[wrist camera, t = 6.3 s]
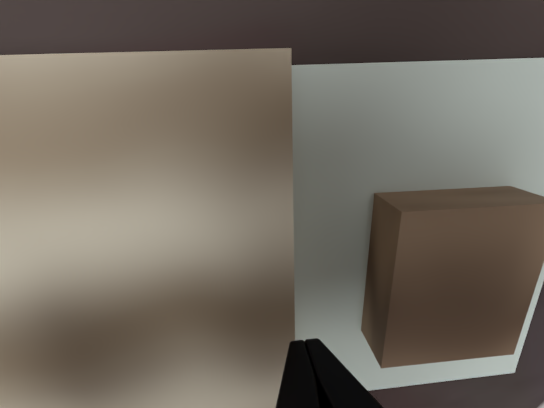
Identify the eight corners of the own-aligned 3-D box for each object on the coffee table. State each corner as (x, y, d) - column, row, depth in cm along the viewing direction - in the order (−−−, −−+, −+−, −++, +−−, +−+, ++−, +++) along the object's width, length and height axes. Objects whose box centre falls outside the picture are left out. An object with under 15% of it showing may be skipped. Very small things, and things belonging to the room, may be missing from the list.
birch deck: (283, 395, 16) (296, 487, 12) (-41, 434, 14) (-139, 551, 11) (273, 66, 10) (291, 48, 7) (-243, 82, 9) (-582, 69, 5)
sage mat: (509, 368, 17) (514, 372, 17) (283, 395, 16) (284, 400, 16) (606, 56, 11) (615, 55, 11) (273, 66, 10) (274, 65, 10)
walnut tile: (381, 368, 12) (360, 329, 14) (513, 354, 13) (476, 319, 15) (401, 211, 10) (374, 192, 12) (563, 202, 11) (510, 185, 13)
